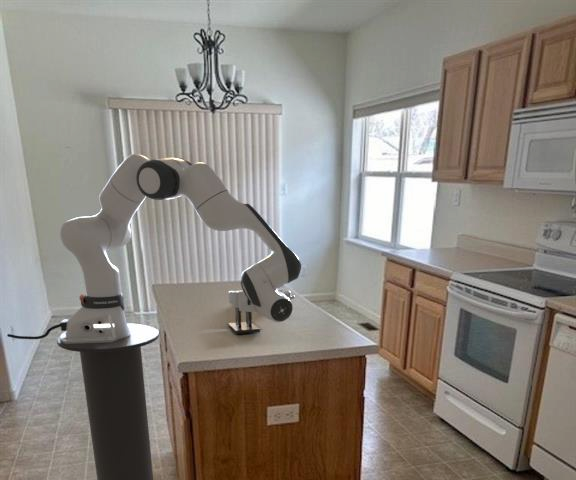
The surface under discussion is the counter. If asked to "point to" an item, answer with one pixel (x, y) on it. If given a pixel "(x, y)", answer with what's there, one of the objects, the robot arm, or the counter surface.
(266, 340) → the counter surface
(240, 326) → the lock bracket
